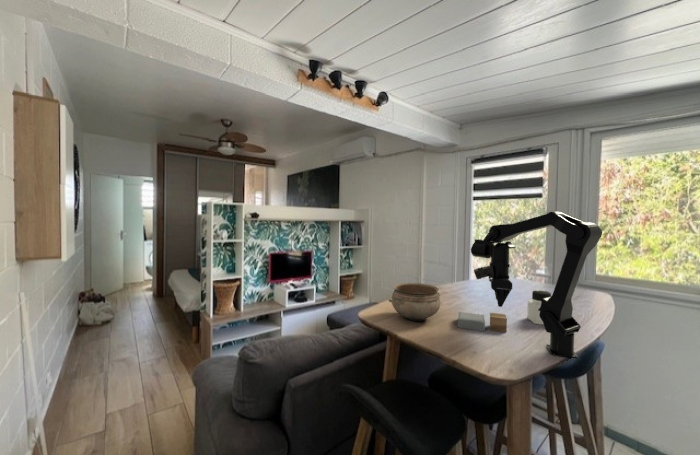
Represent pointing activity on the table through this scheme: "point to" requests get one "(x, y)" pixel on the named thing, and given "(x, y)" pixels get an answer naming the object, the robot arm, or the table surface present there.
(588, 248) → the robot arm
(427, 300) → the cooking pot
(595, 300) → the table surface
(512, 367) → the table surface
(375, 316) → the table surface
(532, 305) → the medicine bottle
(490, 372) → the table surface
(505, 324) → the walnut cube
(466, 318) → the grey-green flat square block
